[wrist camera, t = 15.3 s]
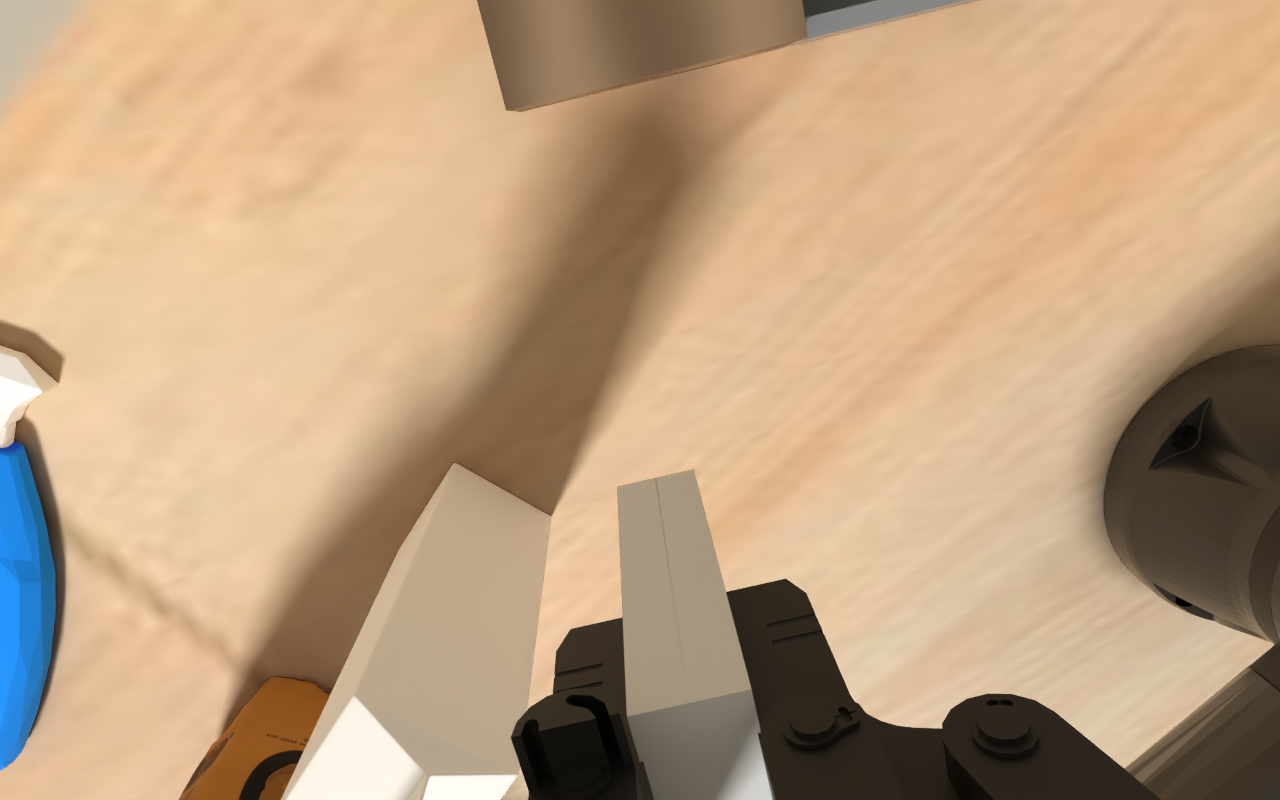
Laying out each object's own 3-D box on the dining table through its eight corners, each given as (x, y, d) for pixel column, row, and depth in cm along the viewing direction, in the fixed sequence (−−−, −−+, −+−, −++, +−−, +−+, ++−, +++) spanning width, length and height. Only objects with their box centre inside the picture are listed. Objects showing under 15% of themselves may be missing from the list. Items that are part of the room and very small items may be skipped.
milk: (552, 515, 45) (517, 855, 24) (494, 599, 47) (414, 990, 26) (451, 459, 44) (323, 767, 23) (395, 548, 45) (226, 915, 24)
